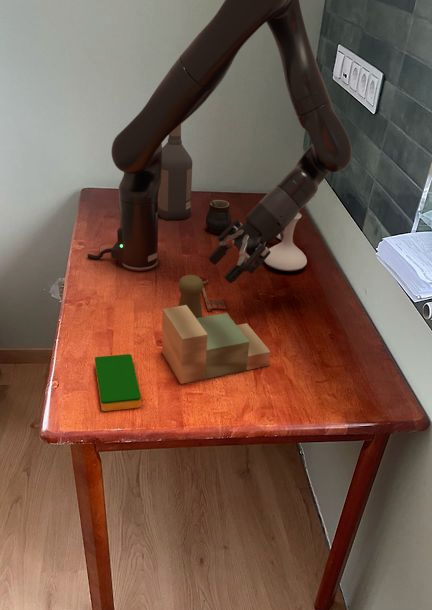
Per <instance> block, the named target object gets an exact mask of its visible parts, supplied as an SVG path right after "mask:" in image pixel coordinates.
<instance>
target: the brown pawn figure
mask: <svg viewBox="0 0 432 610" xmlns="http://www.w3.org/2000/svg"><path fill="white" fill-rule="evenodd" d="M199 277H200V276H198V275H195V274H187V275H184V276H182V277H181V278H180V279H179V281H178V290H179V292H180V295H179V301H178V306H183V305H187V306H188V308H189V309H190V311H191V312H192V313H193V315H194V316H195V318H200V317H203V308H202V297H201V293H202V290H203V285H204V284H203V282H204V281H203V280H202V279H201V278H199Z"/></svg>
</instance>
